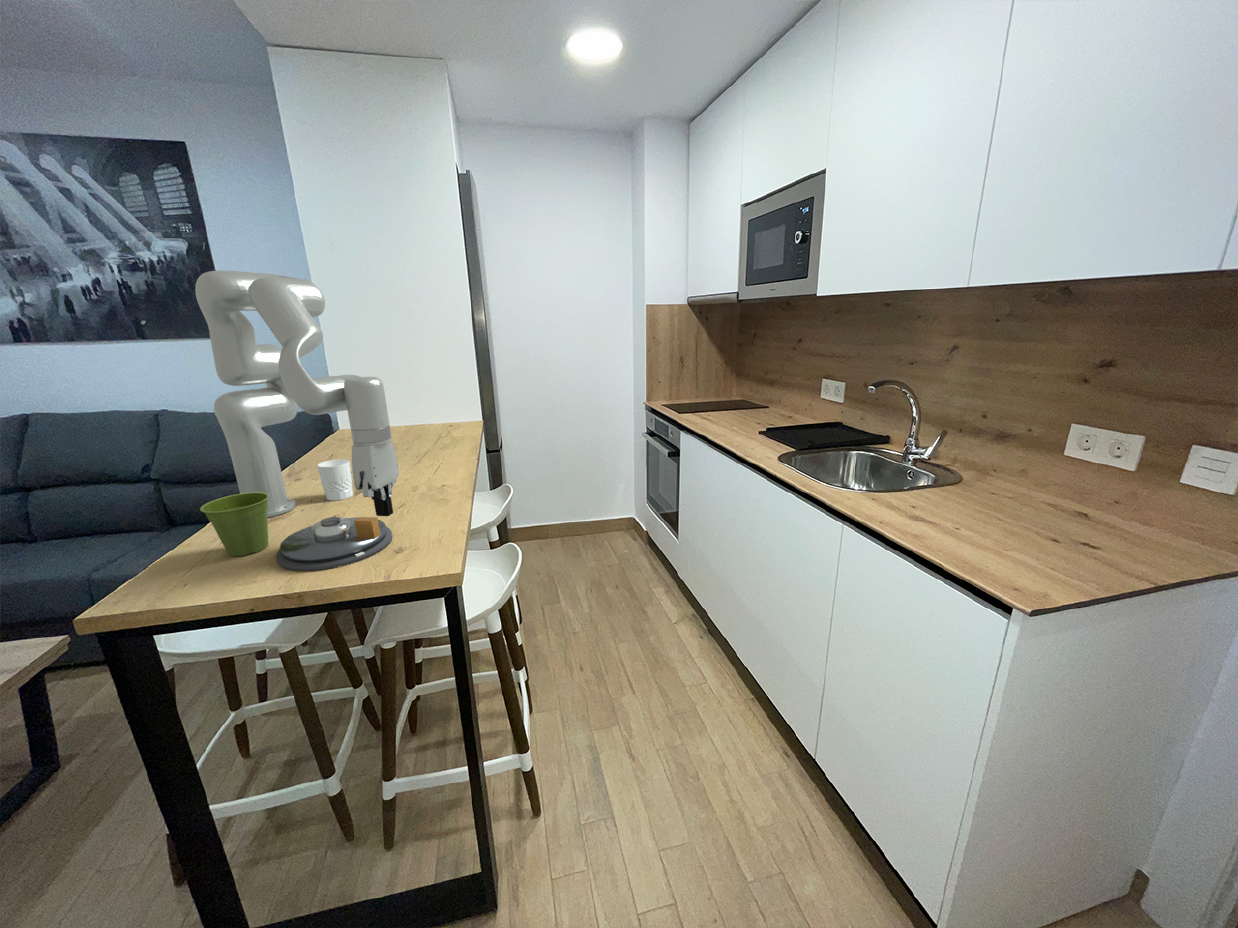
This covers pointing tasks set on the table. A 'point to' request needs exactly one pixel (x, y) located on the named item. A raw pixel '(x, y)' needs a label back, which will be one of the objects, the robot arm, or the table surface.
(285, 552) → the turntable
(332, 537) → the cover
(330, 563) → the turntable base
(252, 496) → the plant pot
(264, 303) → the robot arm
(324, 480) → the white cup
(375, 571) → the table surface
